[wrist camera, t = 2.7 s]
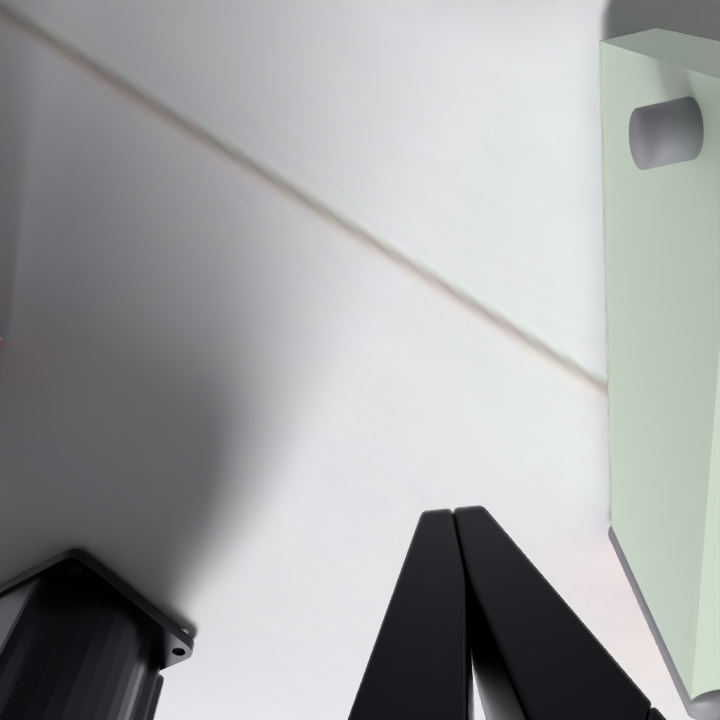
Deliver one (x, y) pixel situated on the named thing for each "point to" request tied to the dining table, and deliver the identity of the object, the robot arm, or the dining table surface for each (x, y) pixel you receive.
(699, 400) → the door
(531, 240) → the dining table surface
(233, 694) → the dining table surface
